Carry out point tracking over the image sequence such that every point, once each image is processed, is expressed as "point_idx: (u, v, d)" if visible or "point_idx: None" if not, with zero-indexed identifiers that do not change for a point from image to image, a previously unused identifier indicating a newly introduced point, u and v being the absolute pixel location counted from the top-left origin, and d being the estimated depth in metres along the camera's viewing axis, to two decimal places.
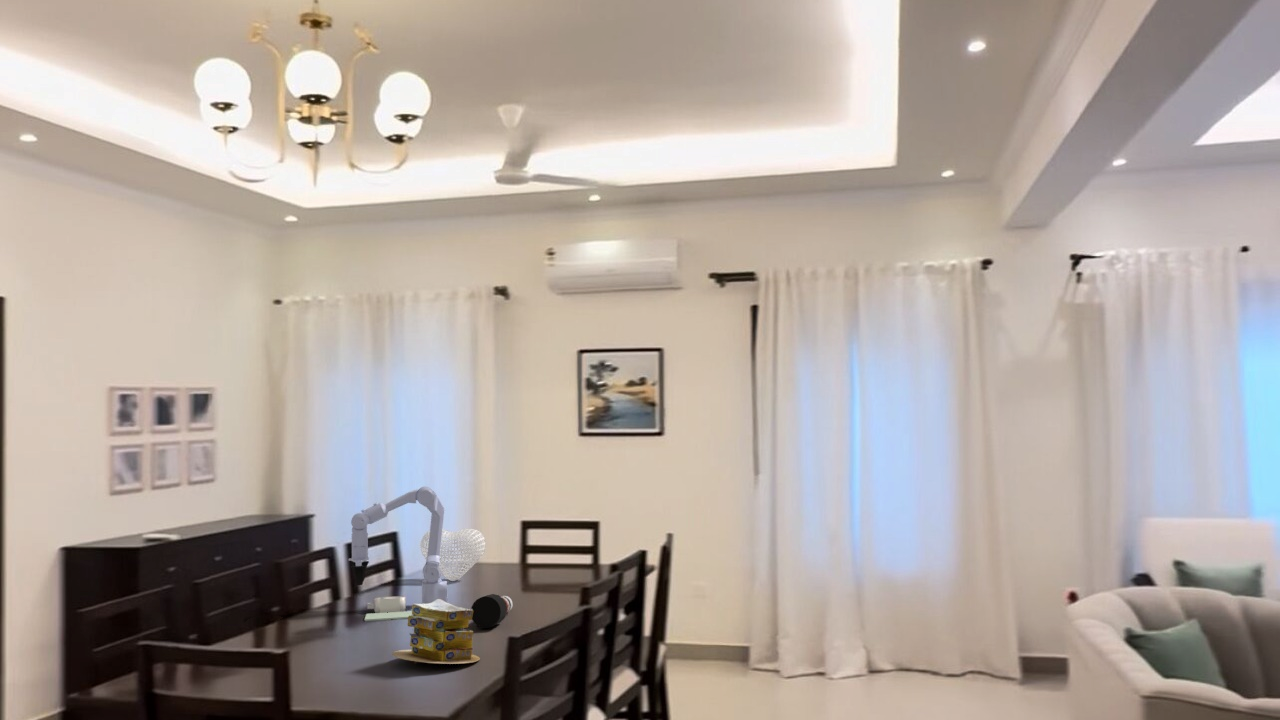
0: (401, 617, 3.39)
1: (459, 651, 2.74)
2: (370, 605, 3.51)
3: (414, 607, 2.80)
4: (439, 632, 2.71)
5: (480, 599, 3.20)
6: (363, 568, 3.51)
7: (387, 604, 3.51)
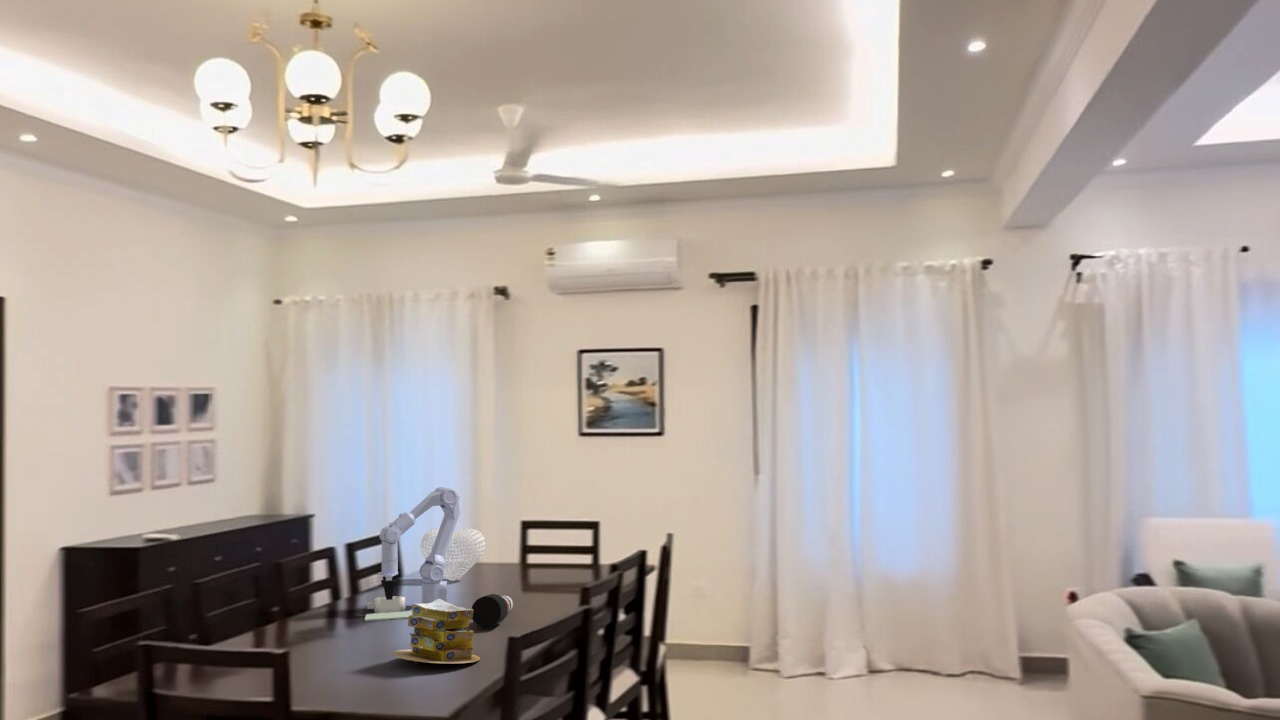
0: (401, 617, 3.39)
1: (459, 650, 2.74)
2: (370, 605, 3.51)
3: (414, 607, 2.80)
4: (439, 632, 2.71)
5: (480, 599, 3.20)
6: (393, 582, 3.48)
7: (387, 604, 3.51)
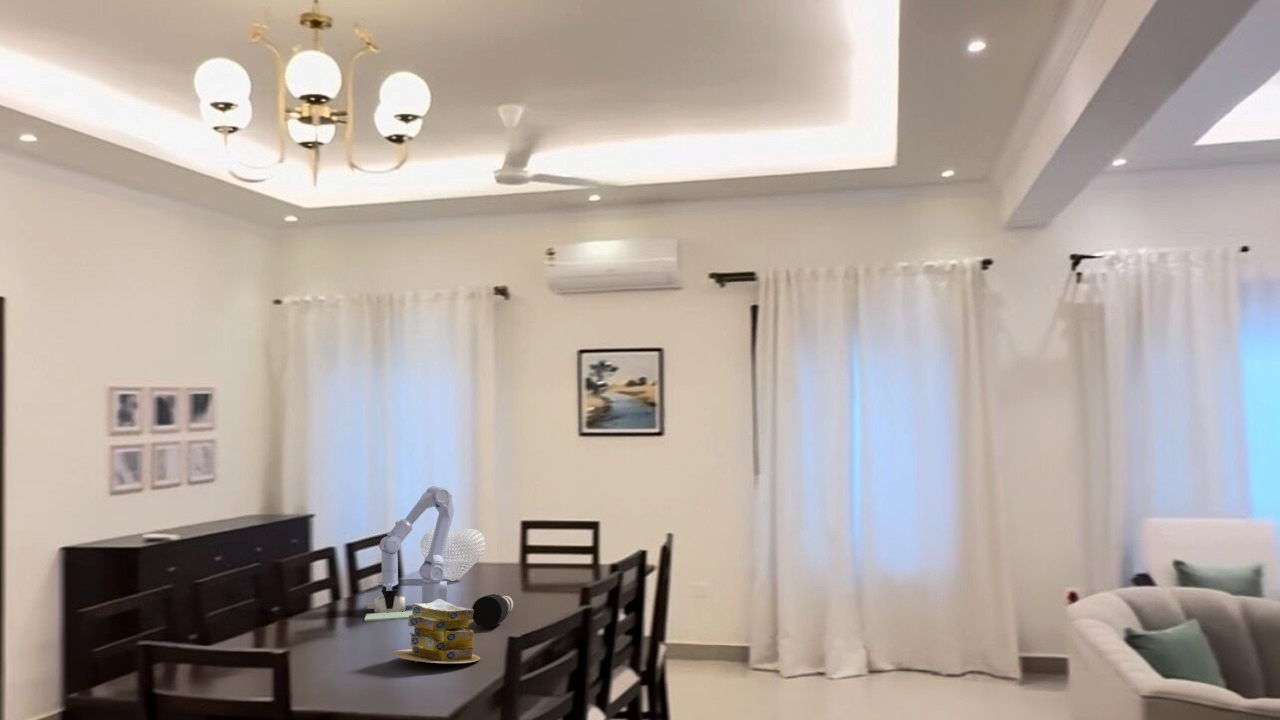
0: (401, 617, 3.39)
1: (459, 650, 2.74)
2: (370, 605, 3.51)
3: (414, 607, 2.80)
4: (440, 632, 2.71)
5: (481, 599, 3.20)
6: (394, 592, 3.50)
7: None
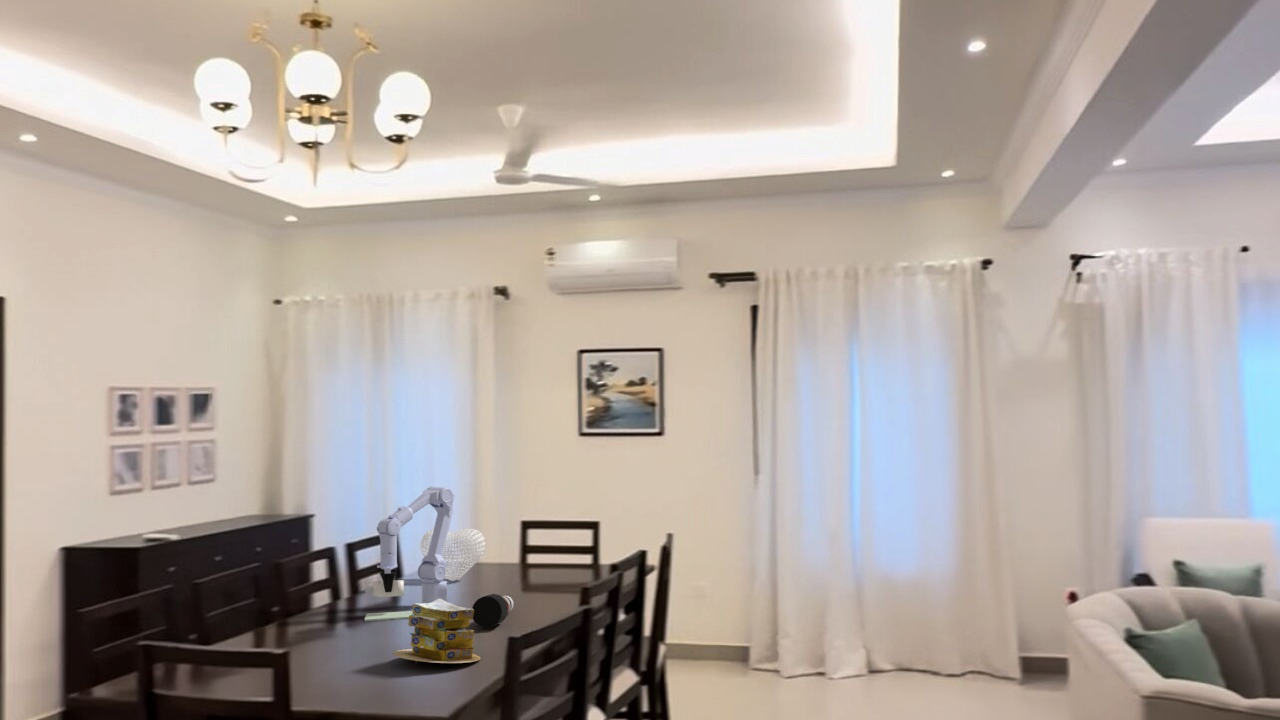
0: (401, 617, 3.39)
1: (459, 650, 2.75)
2: (368, 589, 3.44)
3: (414, 606, 2.80)
4: (440, 631, 2.71)
5: (481, 599, 3.20)
6: (392, 575, 3.43)
7: None
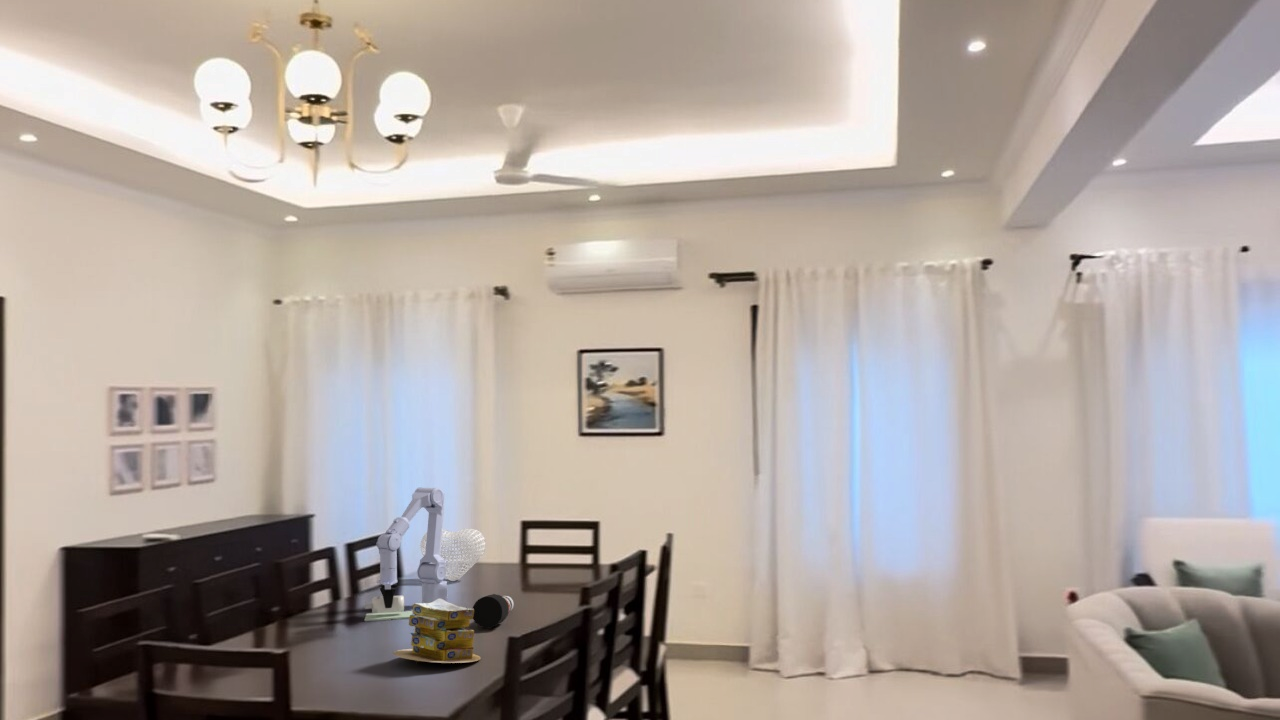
0: (401, 617, 3.39)
1: (460, 650, 2.75)
2: (367, 605, 3.41)
3: (415, 606, 2.80)
4: (440, 631, 2.72)
5: (481, 599, 3.20)
6: (392, 590, 3.40)
7: None
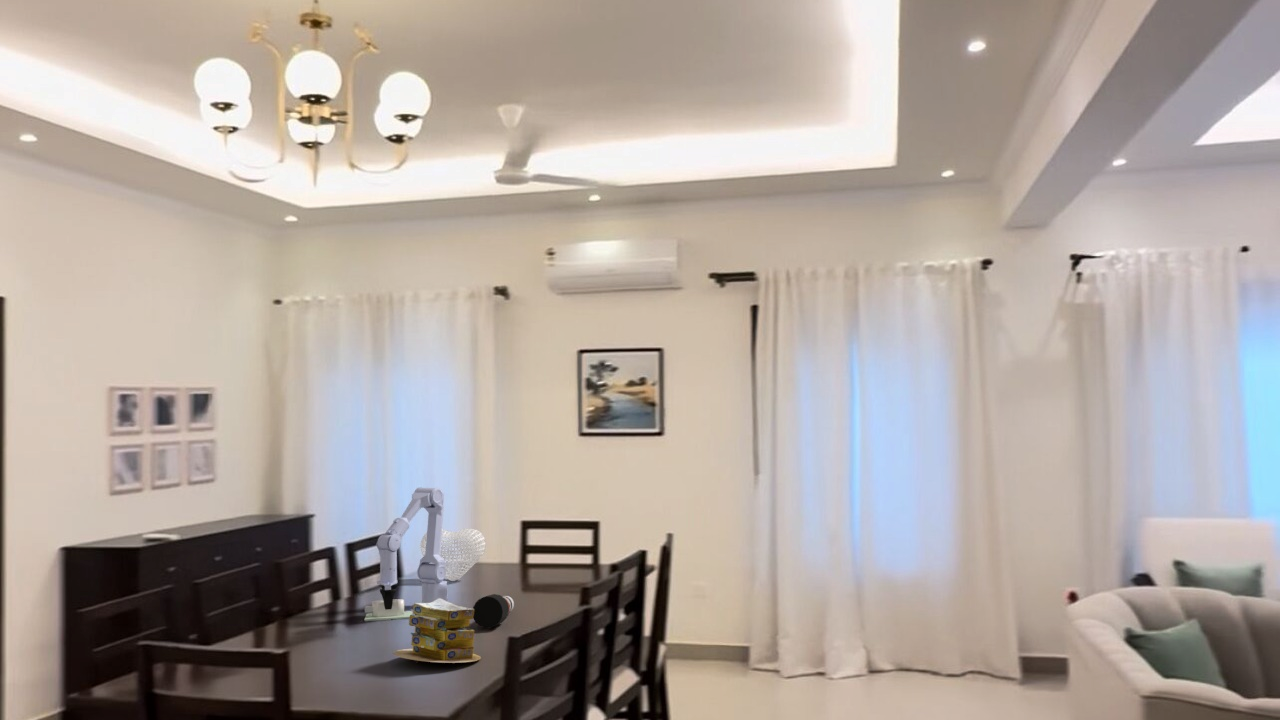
0: (401, 617, 3.39)
1: (460, 650, 2.75)
2: (368, 609, 3.41)
3: (415, 606, 2.80)
4: (441, 631, 2.72)
5: (482, 599, 3.20)
6: (392, 592, 3.38)
7: None
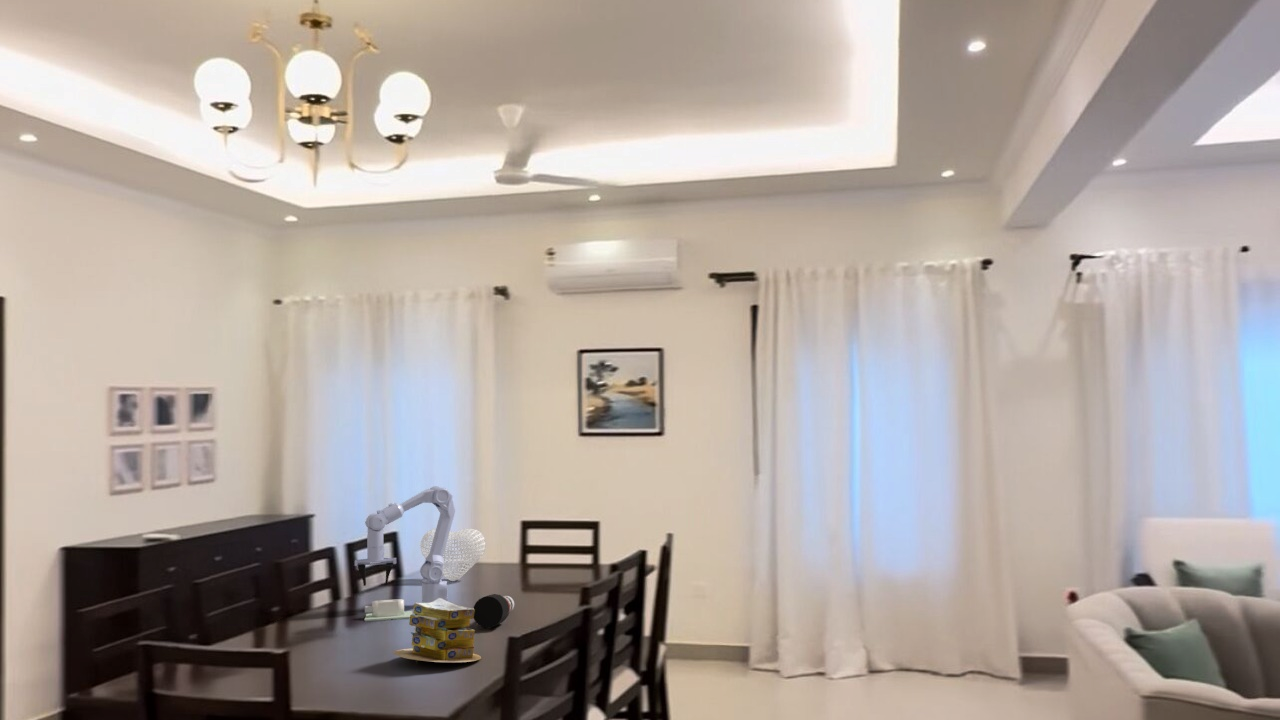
0: (401, 617, 3.39)
1: (460, 649, 2.75)
2: (368, 609, 3.41)
3: (415, 606, 2.81)
4: (441, 631, 2.72)
5: (482, 599, 3.20)
6: (358, 569, 3.50)
7: (385, 608, 3.41)
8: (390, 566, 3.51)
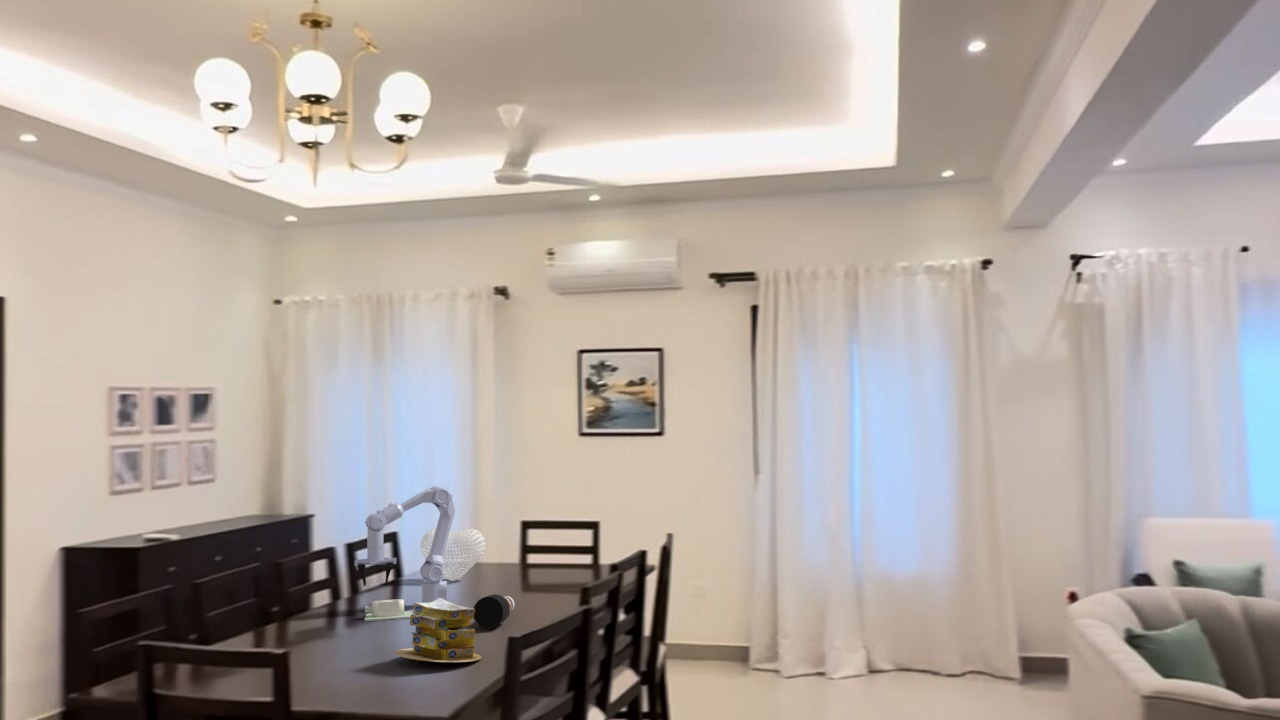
0: (401, 617, 3.39)
1: (461, 649, 2.76)
2: (368, 609, 3.41)
3: (415, 606, 2.81)
4: (441, 631, 2.72)
5: (482, 599, 3.20)
6: (358, 569, 3.50)
7: (385, 608, 3.41)
8: (390, 566, 3.51)
